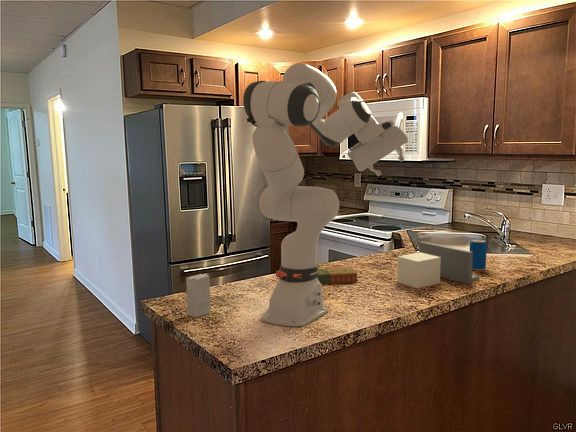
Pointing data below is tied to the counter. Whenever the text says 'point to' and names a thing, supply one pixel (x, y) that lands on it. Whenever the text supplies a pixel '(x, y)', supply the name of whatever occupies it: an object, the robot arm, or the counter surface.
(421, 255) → the block
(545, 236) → the counter surface
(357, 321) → the counter surface
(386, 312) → the counter surface
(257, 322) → the counter surface
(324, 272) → the carton
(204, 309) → the skincare box
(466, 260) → the grey stand
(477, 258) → the beverage can
